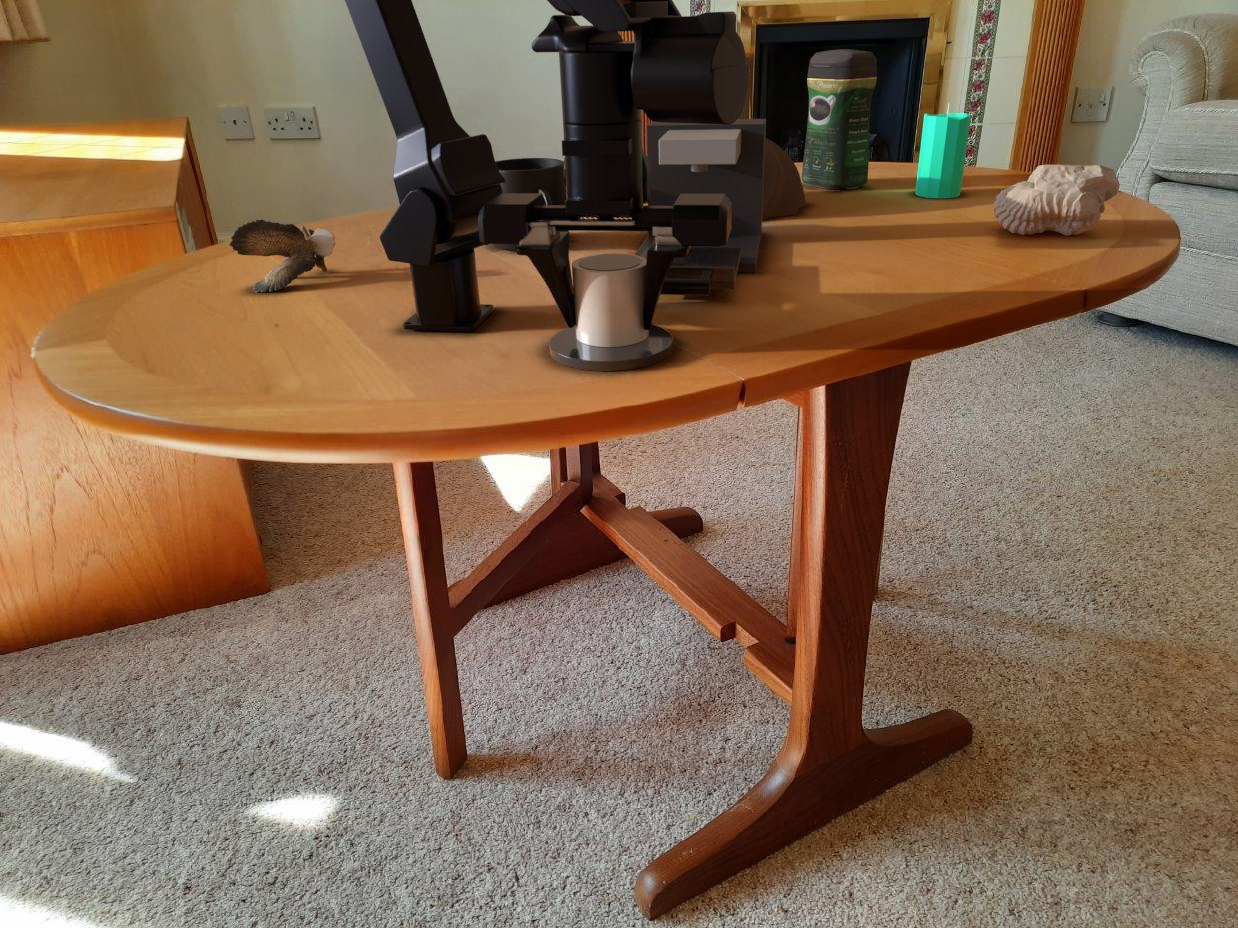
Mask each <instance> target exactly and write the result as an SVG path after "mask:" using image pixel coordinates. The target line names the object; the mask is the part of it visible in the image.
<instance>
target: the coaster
mask: <svg viewBox="0 0 1238 928" xmlns="http://www.w3.org/2000/svg"><path fill="white" fill-rule="evenodd" d="M548 347H549V355H550V356H551V358H552V359H553V360H554V361H555V362H557V363H559V364H561V365H563V366H566V367H569V368H573V369H578V370H585V371H593V372H616V371H617V372H618V371H627V370H634V369H635V370H636V369H640V368H644V367H647V366H651V365H654V364H656V363H659V362H661V361H663V360H665V359H666V358H668V357H669V356H670V355H671V354H672V352H673V350H674V338H673V335H672V333H670V332H669V331H668V330H667V329H665V328H663V327H661V326H659V325H655V324H651V327H650V329H649V336H648V337H647V338H646V339H645V340H644V341H642V342H639V343H636V344H633V345H628V346H622V347H596V346H591V345H587V344H584V343H582V342H580V341H578V340H577V338H576V328H575V326H574V328H569V327H567V328H564V329H561V330H560V331H557V332H556V333H555V334H554V335H553V336H551V338H550V339H549V343H548Z"/></svg>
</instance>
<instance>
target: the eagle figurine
mask: <svg viewBox="0 0 1238 928" xmlns="http://www.w3.org/2000/svg"><path fill="white" fill-rule="evenodd" d="M230 238H231V241H230V242H229V243H228V244H229V246H230V247H231V249H232V251H235V252H236V253H237V255H239V256H257V257H271V256H273V257H274V256H280V257H284V261H282V262H280V263H279V264H277V265H276V266H275V267H274V268H271V270H270V271H269V272H268V273H267V274H266V275H265V276H264V277H263V278H261V279H260V280H259V281H257V282H255V283H254V284H253V286H252V292H254V293H265V292H269V293H272V292H274V291H279V290H281V289H283V288H286V287H287V286H288V285H290V284H292V282H293V281H295V280H296V279H297V278H298V277H299V276H301V275H303V274H304V273H308V272H311V271H312V270H313V269H314V268H315V267H316V268H319V270H321V272H323V273H328V269H327V266H326V263H325V258H326V257H329V256H331V255H332V254H333V251H334V248H335V246H336V236H335V234H334V233H333V232H332V231H330V230H329V229H327V228H325V227H318V228H316V229H315V230H313V229H311V228H308V229H306V227H305V226H304V225H302V226H301V228H299V227H298V226H296V225H295V224H293V223H290V224H289V223H279V222H271V221H266V220H264V219H256V220H255V221H254V220H251V221H250V222H246V223H245V224H242V226H238V227H237V229H236V230H234V231H233V234H232V235H231V237H230Z"/></svg>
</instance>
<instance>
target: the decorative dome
mask: <svg viewBox="0 0 1238 928" xmlns="http://www.w3.org/2000/svg"><path fill="white" fill-rule="evenodd" d="M806 206H807V202H806V194H805V191H804V186H803V182H802V177H801V175H800V172H799V170H798V167H797V166H796V164H795V162H794V161H793V159H792V158H791V157H790V156H789V155H788V153H787V152H786V151H785V150H784V149H783V148H782V147H781V146H779V145H778V144H777V143H776V142H774V141H773V140H772V139H771V140H770V139H769V138H767V137H766V138H765V162H764V187H763V212H762V221H765V220H767V219H772V218H775V217H776V218H777V217H785V216H796V215H797V214H798V211H799V209H802V208H804V207H806Z"/></svg>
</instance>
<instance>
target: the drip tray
mask: <svg viewBox="0 0 1238 928" xmlns="http://www.w3.org/2000/svg"><path fill="white" fill-rule="evenodd" d="M648 249H649V247H646V249H645V251H644V252H643V254H642V255H641V257H644V258H645V259H647V250H648ZM741 256H742V248H691V249H690V251H689V253H688V255H687V256H686V257H681V258H677V257H676V258H674V259H673V262H672V264H671V266H670V268H669V271H668V273H667V275H666V278H665V281H664V284H663V288H662V291H661V294H660V296H665V295H666V296H667V295H668V296H710V295H711V290H734V289H735V285H736V281H737V276H738V273H739V272H738V269H739V264H740V260H741Z"/></svg>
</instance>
